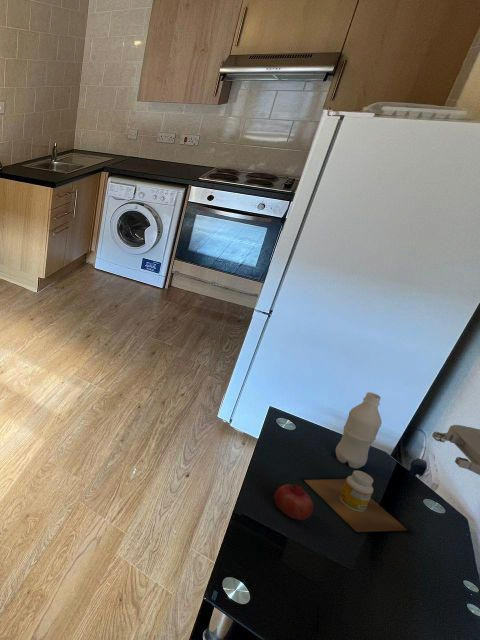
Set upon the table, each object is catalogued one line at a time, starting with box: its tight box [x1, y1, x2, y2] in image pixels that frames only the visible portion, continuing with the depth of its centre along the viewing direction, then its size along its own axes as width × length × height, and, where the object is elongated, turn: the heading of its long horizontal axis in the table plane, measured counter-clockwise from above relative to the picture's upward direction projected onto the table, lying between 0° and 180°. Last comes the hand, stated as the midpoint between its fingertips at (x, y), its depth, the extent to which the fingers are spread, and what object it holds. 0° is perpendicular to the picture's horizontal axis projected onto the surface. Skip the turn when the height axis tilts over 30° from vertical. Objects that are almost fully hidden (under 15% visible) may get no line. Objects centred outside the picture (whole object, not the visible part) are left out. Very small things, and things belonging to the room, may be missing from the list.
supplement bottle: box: [340, 469, 374, 512], centre depth 110 cm, size 5×5×10 cm
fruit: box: [273, 483, 314, 521], centre depth 108 cm, size 8×8×10 cm
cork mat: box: [303, 478, 408, 533], centre depth 112 cm, size 16×14×1 cm
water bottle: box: [334, 392, 382, 469], centre depth 123 cm, size 7×7×25 cm
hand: (445, 448), depth 100 cm, fingers open, 8 cm apart
